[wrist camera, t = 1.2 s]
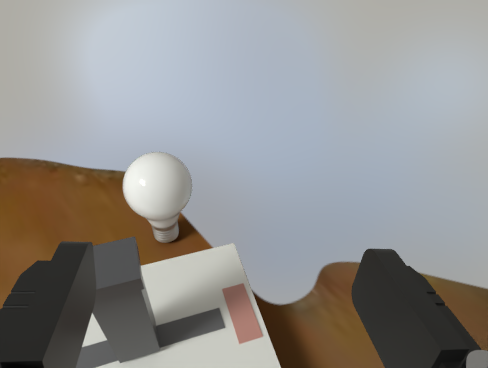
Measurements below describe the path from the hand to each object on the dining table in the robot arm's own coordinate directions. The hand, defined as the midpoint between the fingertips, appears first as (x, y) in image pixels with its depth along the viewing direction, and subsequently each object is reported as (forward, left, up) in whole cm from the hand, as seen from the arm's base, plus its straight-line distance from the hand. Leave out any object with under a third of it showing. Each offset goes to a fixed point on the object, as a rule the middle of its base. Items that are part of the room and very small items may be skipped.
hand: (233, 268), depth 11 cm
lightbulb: (+1, -20, -23) cm, 31 cm away
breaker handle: (+5, -8, -20) cm, 22 cm away
